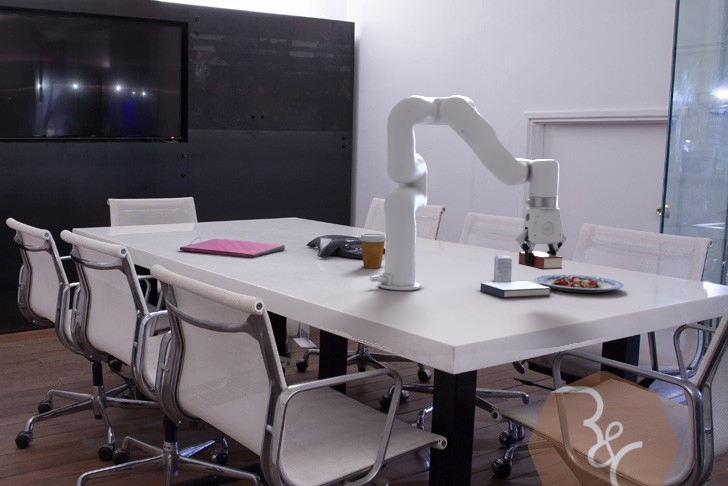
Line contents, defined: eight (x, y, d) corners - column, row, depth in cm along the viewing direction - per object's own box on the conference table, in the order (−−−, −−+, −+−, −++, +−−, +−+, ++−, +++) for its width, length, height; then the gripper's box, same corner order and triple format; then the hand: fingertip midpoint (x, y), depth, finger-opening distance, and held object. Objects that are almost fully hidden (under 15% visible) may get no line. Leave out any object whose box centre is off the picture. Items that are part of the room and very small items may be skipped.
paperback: (542, 269, 213) (543, 257, 213) (518, 263, 224) (519, 252, 223) (562, 268, 214) (563, 256, 214) (537, 263, 225) (538, 251, 225)
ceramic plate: (516, 283, 250) (517, 274, 250) (576, 279, 260) (577, 270, 259) (579, 298, 227) (580, 288, 226) (642, 292, 236) (643, 283, 236)
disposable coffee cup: (389, 266, 286) (390, 234, 284) (379, 269, 278) (380, 237, 276) (365, 264, 291) (365, 232, 289) (355, 267, 283) (355, 235, 281)
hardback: (503, 298, 227) (503, 290, 226) (480, 290, 238) (480, 282, 238) (549, 295, 230) (550, 287, 230) (525, 288, 242) (525, 280, 242)
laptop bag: (285, 241, 327) (252, 249, 305) (285, 250, 328) (252, 259, 305) (208, 234, 349) (172, 241, 326) (208, 243, 349) (172, 251, 327)
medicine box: (511, 285, 248) (512, 258, 247) (496, 284, 249) (497, 258, 248) (507, 281, 256) (508, 255, 255) (493, 280, 257) (494, 254, 256)
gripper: (524, 204, 211) (521, 268, 213) (578, 203, 215) (575, 266, 217) (508, 202, 218) (505, 264, 221) (560, 201, 223) (557, 262, 225)
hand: (540, 265), depth 219 cm, fingers closed on paperback, 6 cm apart
